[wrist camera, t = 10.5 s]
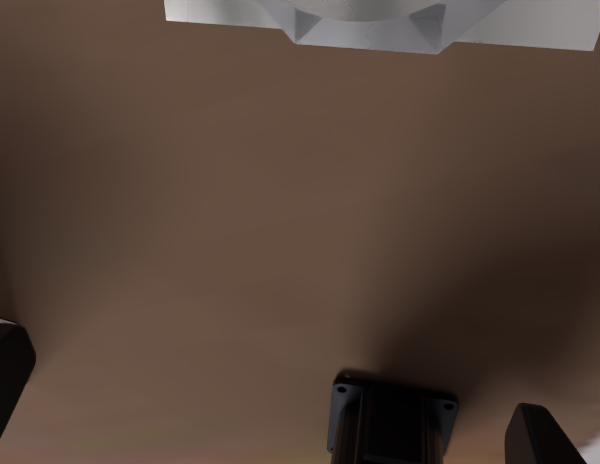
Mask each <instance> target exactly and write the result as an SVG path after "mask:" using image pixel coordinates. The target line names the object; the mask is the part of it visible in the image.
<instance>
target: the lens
mask: <svg viewBox="0 0 600 464" xmlns="http://www.w3.org/2000/svg"><path fill="white" fill-rule="evenodd" d="M281 1H282V2H284V3H286V4H288V5H290V6H292V7H294V8H297V9H299V10H301V11H303V12H306V13H309V14H313V15H316V16H319V17H322V18H327V19H333V20H339V21H349V22H370V21H379V20H388V19H392V18H396V17H400V16H404V15H408V14H411V13H414V12H417V11H419V10H422V9H424V8H427V7H429V6H432V5H434V4H436V3H437V2H439V1H441V0H281Z"/></svg>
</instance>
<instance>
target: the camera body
mask: <svg viewBox="0 0 600 464" xmlns="http://www.w3.org/2000/svg"><path fill="white" fill-rule="evenodd" d="M164 4H165V12H166V20H167V21H181V22H195V23H209V24H223V25H237V26H251V27H265V28H278V29H282V30H283V31H284V32H285V33H286V34H287V35H288V36H289V38H290V39H291V40H292V41H293V42H294V43H295V44H305V45H318V46H331V47H345V48H358V49H371V50H384V51H398V52H411V53H424V54H437V55H438V54H439V53H440V52H441V51H442V50H444V49H445V48H446V47H447V46H449V45H450V44H451V43H453V42H454V41H459V42H473V43H487V44H501V45H514V46H528V47H542V48H556V49H570V50H584V51H593V50H594V47H595V44H596V41H597V38H598V35H599V32H600V0H441V1H439V2H437V3H436V4H434V5H432V6H429V7H427V8H424V9H422V10H419V11H417V12H414V13H411V14H408V15H404V16H400V17H396V18H392V19H388V20H379V21H370V22H349V21H339V20H333V19H327V18H322V17H319V16H316V15H313V14H309V13H306V12H303V11H301V10H299V9H297V8H294V7H292V6H290V5H288V4H286V3H284V2H282V1H281V0H164Z"/></svg>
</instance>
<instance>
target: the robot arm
mask: <svg viewBox="0 0 600 464" xmlns="http://www.w3.org/2000/svg"><path fill="white" fill-rule="evenodd" d="M35 362H36V353H35V350H34V347H33V345H32V342H31V340H30V337H29V335H28V332H27V330H26V328H25V327H24V326H22V325H19V324H12V323H0V438H1V436H2V434H3V432H4V430H5V428H6V426H7V424H8V422H9V420H10V417H11V415H12V413H13V411H14V409H15V407H16V405H17V403H18V400H19V398H20V396H21V394H22V392H23V390H24V388H25V385H26V383H27V381H28V379H29V377H30V375H31V373H32V371H33V368H34V366H35ZM458 409H459V404H458V398H457V397H456V396H454V395H451V394H445V393H439V392H432V391H426V390H420V389H413V388H407V387H400V386H394V385H387V384H381V383H375V382H368V381H362V380H355V379H349V378H336V379H335V380H334V382H333V387H332V397H331V408H330V419H329V430H328V441H327V450H328V451H329V452H330V453H332V458H331V464H443V456H444V453H445V450H446V447H447V443H448V440H449V437H450V434H451V431H452V428H453V425H454V422H455V418H456V415H457V412H458ZM505 464H587V463H586V462H585V460H584V459H583V458H582V456H581V455H580V453H579V452H578V451H577V449H576V448H575V447H574V445H573V444H572V442H571V441H570V440H569V438H568V437H567V435H566V434H565V433H564V431H563V430H562V429H561V427H560V426H559V424H558V423H557V422H556V420H555V419H554V418H553V416H552V415H551V413H550V412H549V411H548V410H547V409H546V408H545V407H543V406H541V405H535V404H529V403H519V404H518V405H517V407H516V409H515V411H514V413H513V416H512V418H511V421H510V423H509V425H508V428H507V430H506V434H505Z"/></svg>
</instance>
